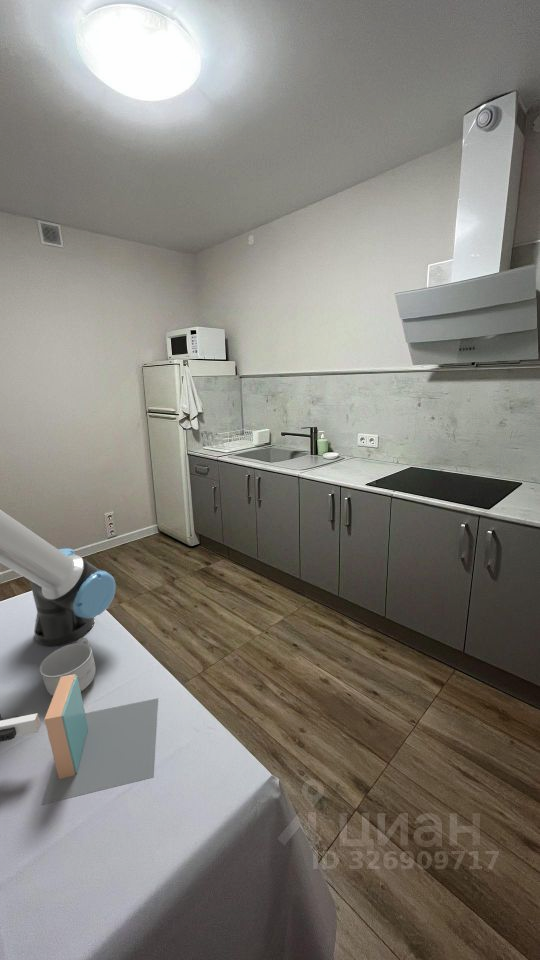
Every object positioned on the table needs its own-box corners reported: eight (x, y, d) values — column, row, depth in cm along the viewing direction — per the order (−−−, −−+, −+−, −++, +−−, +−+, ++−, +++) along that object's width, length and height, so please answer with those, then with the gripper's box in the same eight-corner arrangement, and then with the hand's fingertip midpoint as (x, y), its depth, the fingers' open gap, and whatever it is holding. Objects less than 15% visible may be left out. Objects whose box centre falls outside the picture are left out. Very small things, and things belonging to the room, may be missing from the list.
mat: (69, 718, 83) (69, 716, 83) (158, 700, 86) (158, 698, 86) (41, 807, 66) (41, 804, 66) (154, 779, 69) (153, 777, 69)
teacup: (77, 708, 85) (71, 677, 83) (34, 702, 88) (27, 672, 85) (114, 663, 99) (109, 635, 96) (76, 658, 101) (70, 631, 99)
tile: (73, 730, 79) (60, 676, 76) (88, 727, 80) (77, 673, 76) (59, 778, 70) (44, 719, 66) (76, 774, 70) (63, 715, 67)
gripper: (-85, 738, 74) (52, 710, 79) (-137, 810, 62) (29, 772, 66) (-97, 705, 72) (45, 679, 77) (-153, 773, 60) (19, 737, 64)
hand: (37, 722), depth 71 cm, fingers closed
